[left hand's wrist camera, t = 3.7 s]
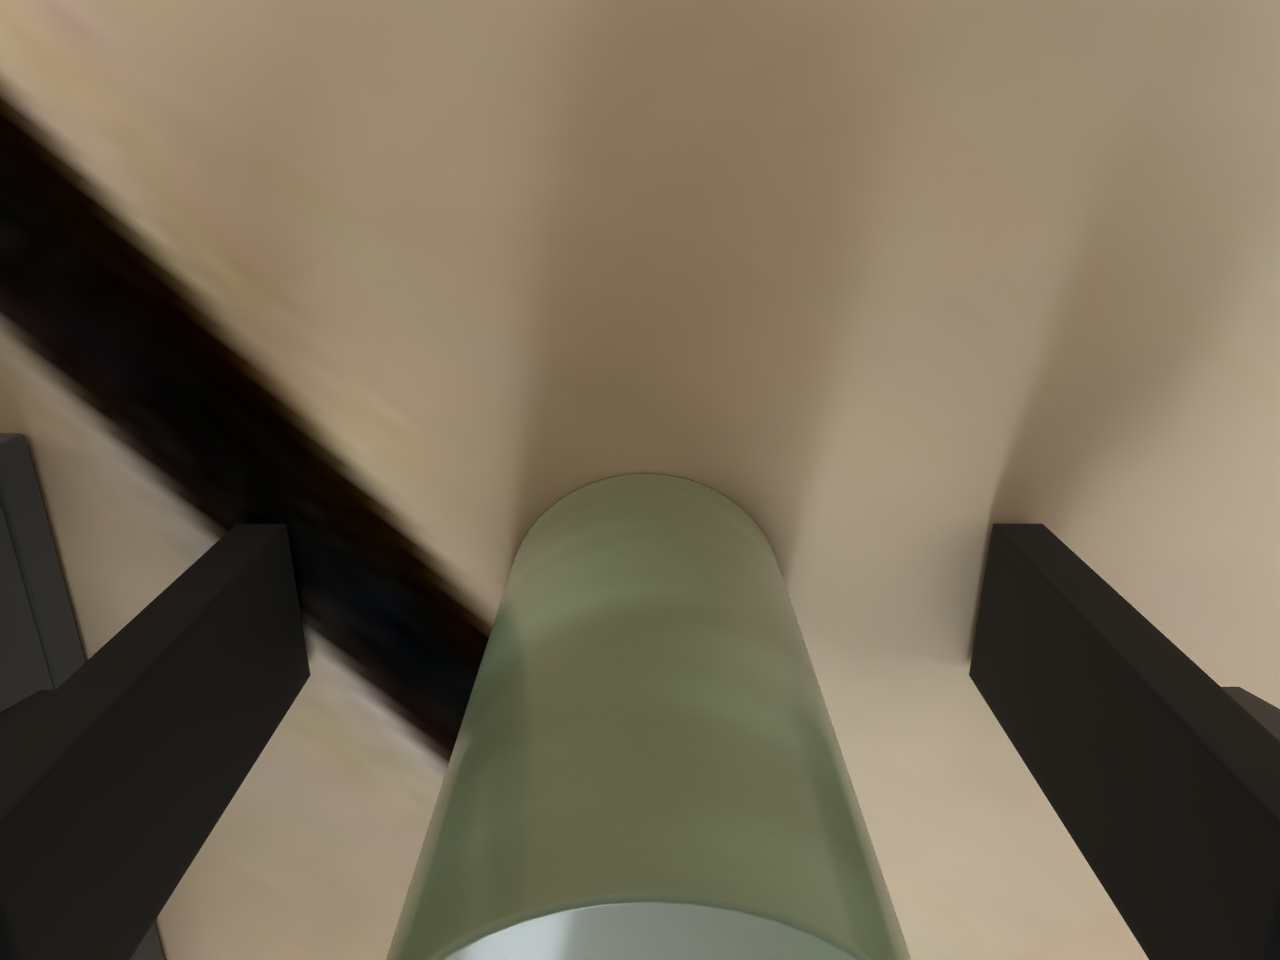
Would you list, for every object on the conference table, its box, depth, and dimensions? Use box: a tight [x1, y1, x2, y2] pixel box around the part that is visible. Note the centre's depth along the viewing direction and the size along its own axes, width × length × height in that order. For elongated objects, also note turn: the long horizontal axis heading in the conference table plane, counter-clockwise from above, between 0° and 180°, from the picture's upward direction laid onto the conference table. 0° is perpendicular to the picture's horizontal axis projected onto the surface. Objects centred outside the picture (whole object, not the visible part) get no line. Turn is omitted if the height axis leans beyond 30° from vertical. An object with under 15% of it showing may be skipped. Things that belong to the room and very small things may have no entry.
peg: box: [386, 473, 911, 960], centre depth 10 cm, size 4×4×8 cm
